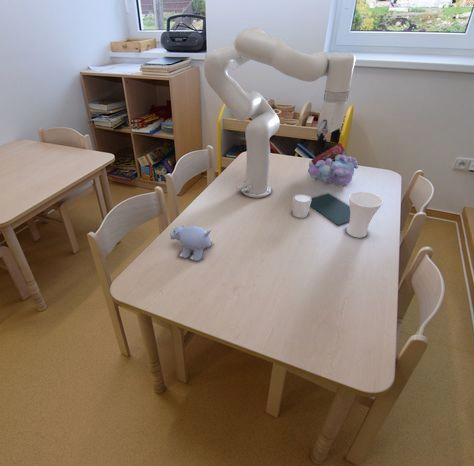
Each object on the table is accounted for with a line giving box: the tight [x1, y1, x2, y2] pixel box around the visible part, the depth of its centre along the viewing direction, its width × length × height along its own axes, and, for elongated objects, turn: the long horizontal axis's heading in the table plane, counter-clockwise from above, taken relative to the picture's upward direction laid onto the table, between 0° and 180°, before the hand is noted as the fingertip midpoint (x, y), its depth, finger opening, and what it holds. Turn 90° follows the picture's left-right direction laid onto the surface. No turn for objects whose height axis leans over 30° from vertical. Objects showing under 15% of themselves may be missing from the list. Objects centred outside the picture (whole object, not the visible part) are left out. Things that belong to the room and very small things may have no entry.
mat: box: [310, 193, 350, 226], centre depth 129 cm, size 13×20×1 cm, turn 24°
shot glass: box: [292, 193, 312, 219], centre depth 126 cm, size 7×7×7 cm
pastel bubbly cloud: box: [307, 142, 359, 187], centre depth 146 cm, size 20×22×18 cm
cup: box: [346, 191, 384, 238], centre depth 112 cm, size 10×10×14 cm
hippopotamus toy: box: [169, 224, 213, 262], centre depth 110 cm, size 11×15×10 cm
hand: (327, 146), depth 118 cm, fingers open, 9 cm apart
